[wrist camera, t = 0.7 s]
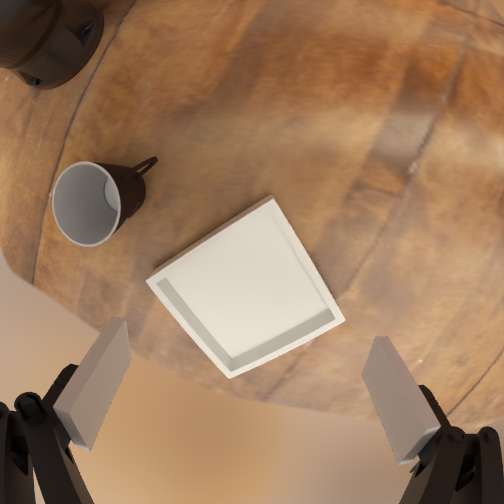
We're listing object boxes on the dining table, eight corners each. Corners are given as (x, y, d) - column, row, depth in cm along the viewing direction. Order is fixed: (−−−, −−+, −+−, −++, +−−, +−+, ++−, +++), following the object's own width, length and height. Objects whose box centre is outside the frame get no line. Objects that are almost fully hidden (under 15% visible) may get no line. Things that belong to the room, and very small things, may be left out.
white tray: (154, 268, 38) (145, 280, 34) (271, 193, 35) (273, 198, 31) (230, 361, 43) (229, 379, 39) (337, 305, 40) (345, 320, 36)
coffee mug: (100, 226, 36) (59, 249, 27) (92, 163, 33) (47, 169, 24) (180, 219, 36) (155, 243, 26) (174, 150, 33) (145, 149, 24)
